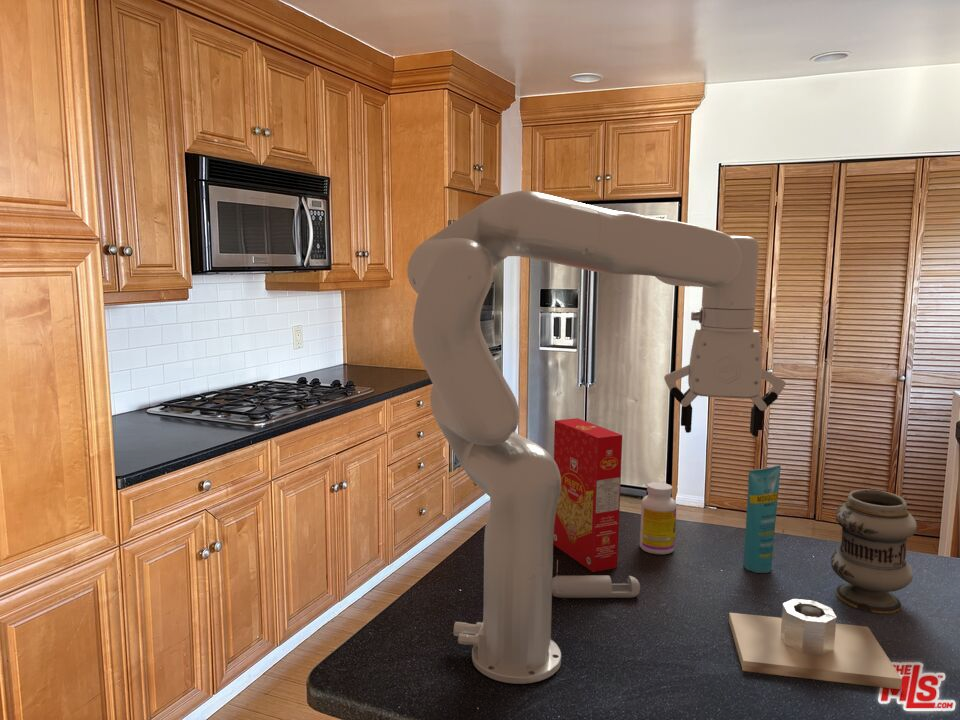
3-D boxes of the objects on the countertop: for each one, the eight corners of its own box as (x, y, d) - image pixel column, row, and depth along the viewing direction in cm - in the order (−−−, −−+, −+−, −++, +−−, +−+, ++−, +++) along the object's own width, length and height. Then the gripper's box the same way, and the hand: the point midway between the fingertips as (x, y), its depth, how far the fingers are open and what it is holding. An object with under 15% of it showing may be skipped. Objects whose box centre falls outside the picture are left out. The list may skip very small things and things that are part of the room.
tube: (754, 577, 129) (761, 473, 127) (733, 567, 133) (739, 466, 131) (782, 568, 133) (789, 467, 130) (760, 559, 137) (767, 461, 134)
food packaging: (551, 542, 144) (554, 420, 140) (574, 538, 146) (577, 418, 143) (593, 572, 131) (597, 437, 127) (617, 567, 133) (622, 434, 129)
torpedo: (635, 590, 124) (637, 554, 124) (642, 603, 120) (644, 565, 119) (531, 590, 124) (532, 554, 123) (534, 603, 119) (535, 565, 118)
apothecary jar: (826, 606, 119) (835, 501, 116) (829, 578, 129) (837, 481, 127) (911, 624, 113) (922, 514, 111) (907, 593, 124) (917, 492, 121)
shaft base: (742, 670, 100) (745, 626, 99) (728, 621, 113) (731, 582, 112) (900, 689, 96) (905, 643, 95) (867, 636, 109) (870, 595, 109)
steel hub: (787, 652, 102) (789, 618, 101) (777, 628, 108) (780, 597, 108) (837, 657, 101) (840, 624, 100) (825, 633, 107) (827, 602, 106)
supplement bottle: (678, 556, 138) (681, 491, 136) (643, 555, 138) (646, 491, 136) (669, 542, 145) (672, 480, 143) (636, 542, 145) (639, 480, 143)
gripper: (668, 320, 105) (663, 435, 108) (794, 324, 102) (786, 442, 104) (666, 316, 113) (660, 424, 115) (783, 320, 109) (776, 430, 112)
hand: (720, 432), depth 110 cm, fingers open, 9 cm apart
